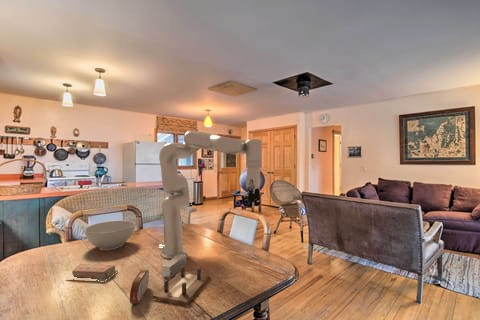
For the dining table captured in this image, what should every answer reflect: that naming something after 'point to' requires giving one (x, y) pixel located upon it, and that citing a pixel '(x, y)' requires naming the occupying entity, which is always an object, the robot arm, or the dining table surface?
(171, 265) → the steel bar
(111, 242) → the decorative bowl
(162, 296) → the peg stand
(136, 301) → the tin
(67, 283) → the dining table surface
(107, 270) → the packaged product
